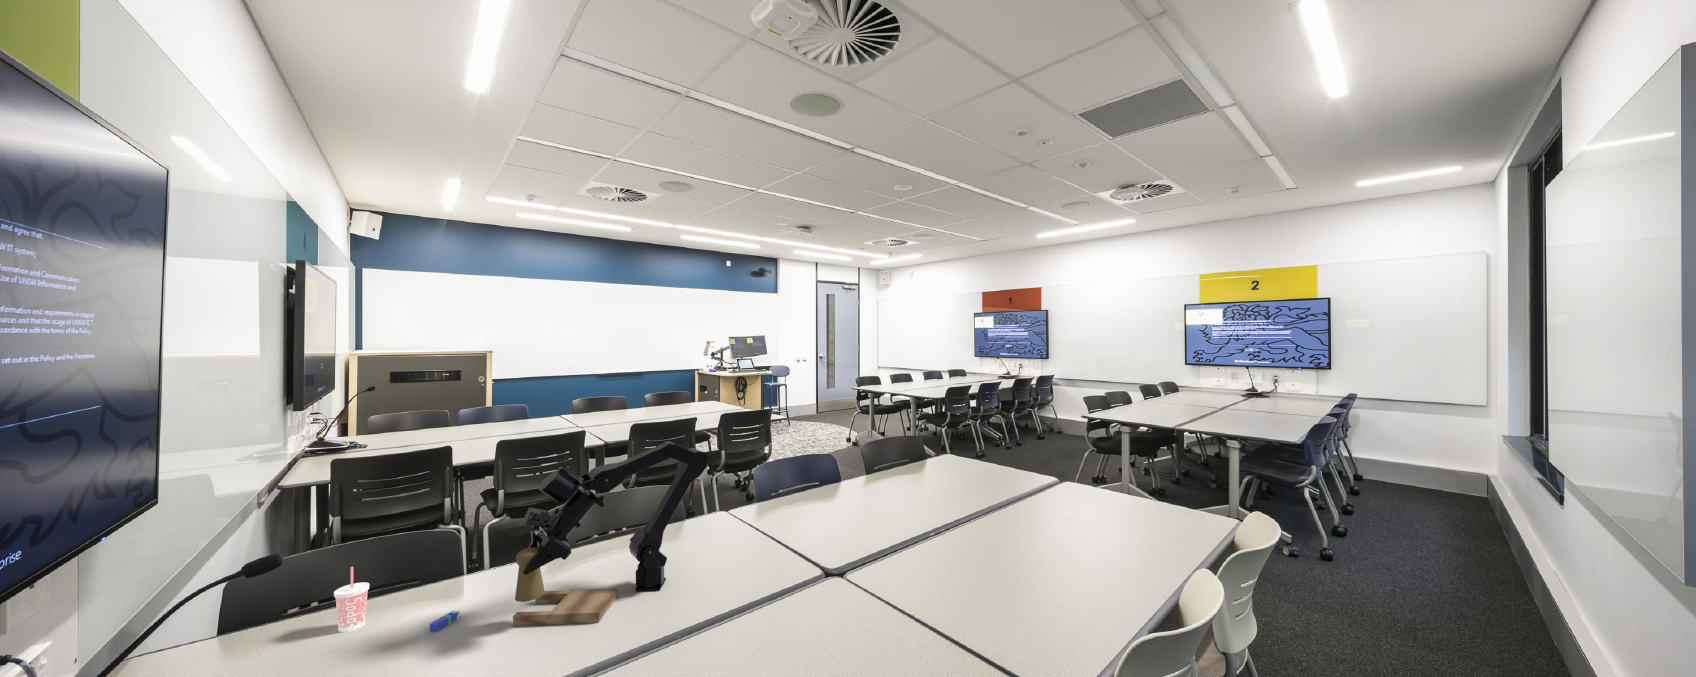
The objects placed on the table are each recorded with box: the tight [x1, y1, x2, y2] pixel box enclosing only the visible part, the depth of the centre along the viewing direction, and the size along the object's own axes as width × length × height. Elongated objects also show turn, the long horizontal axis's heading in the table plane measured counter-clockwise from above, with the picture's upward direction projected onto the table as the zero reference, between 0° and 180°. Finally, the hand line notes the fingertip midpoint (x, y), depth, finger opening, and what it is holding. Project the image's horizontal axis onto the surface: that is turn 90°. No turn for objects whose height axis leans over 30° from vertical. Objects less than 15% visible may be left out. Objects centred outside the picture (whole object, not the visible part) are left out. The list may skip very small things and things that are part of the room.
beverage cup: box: [333, 566, 370, 633], centre depth 123 cm, size 6×6×14 cm
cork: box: [514, 547, 545, 603], centre depth 125 cm, size 6×6×11 cm
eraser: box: [429, 610, 460, 633], centre depth 124 cm, size 2×6×2 cm, turn 171°
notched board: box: [512, 588, 618, 627], centre depth 130 cm, size 20×12×2 cm, turn 95°
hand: (522, 569), depth 124 cm, fingers closed on cork, 5 cm apart
